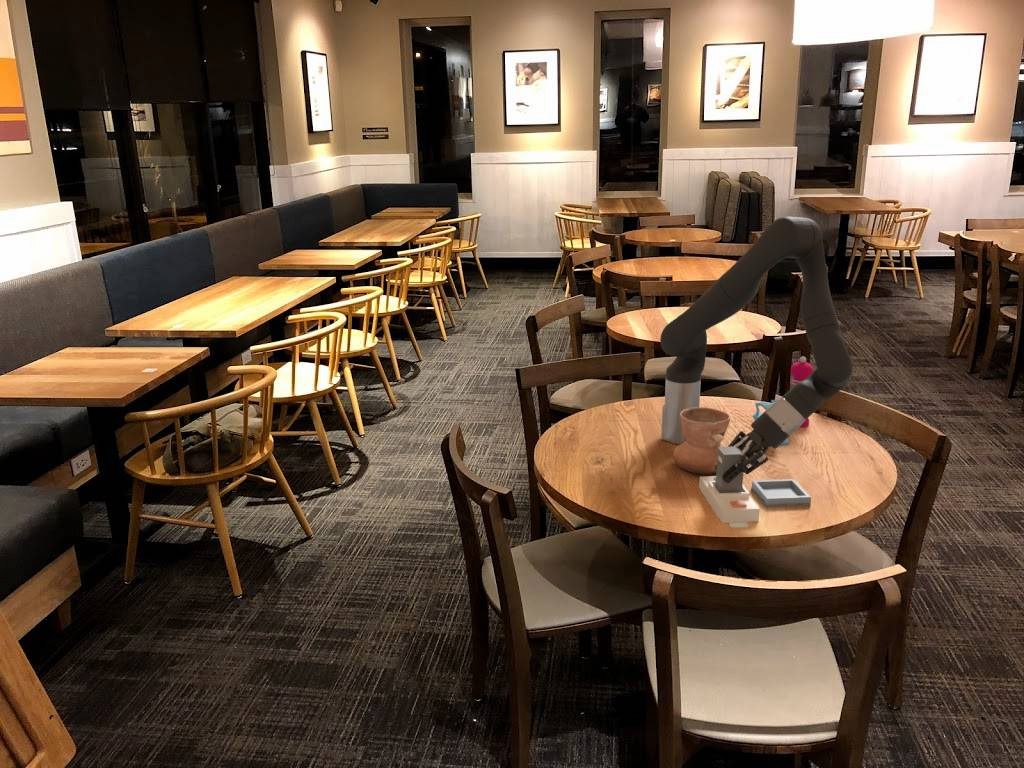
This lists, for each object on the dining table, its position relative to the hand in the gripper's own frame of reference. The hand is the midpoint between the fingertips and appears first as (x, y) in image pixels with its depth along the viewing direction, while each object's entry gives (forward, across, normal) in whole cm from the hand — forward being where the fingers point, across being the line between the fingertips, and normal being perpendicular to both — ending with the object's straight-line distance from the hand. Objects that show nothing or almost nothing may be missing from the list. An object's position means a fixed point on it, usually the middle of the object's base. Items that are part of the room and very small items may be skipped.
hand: (721, 475), depth 182 cm
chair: (-12, -38, +23) cm, 46 cm away
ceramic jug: (+4, -22, +6) cm, 23 cm away
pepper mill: (-21, -50, +32) cm, 63 cm away
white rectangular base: (+4, 0, +6) cm, 7 cm away
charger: (+2, 0, +4) cm, 5 cm away
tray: (-6, -3, +16) cm, 17 cm away
